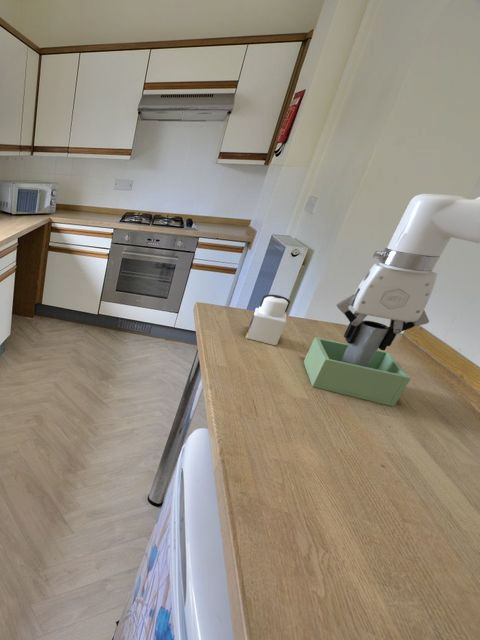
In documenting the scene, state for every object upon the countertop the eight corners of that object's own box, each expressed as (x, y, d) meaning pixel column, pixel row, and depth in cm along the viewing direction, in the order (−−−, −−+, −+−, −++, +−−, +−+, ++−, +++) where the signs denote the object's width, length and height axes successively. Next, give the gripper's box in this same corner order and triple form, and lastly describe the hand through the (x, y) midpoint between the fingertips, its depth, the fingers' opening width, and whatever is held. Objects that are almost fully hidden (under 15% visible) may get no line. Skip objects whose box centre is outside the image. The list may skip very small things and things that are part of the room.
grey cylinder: (334, 364, 91) (355, 321, 87) (346, 360, 93) (367, 319, 88) (358, 373, 87) (382, 330, 83) (370, 370, 89) (393, 327, 85)
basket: (375, 378, 94) (389, 352, 91) (394, 406, 84) (411, 378, 81) (303, 362, 100) (314, 337, 97) (312, 386, 90) (325, 359, 87)
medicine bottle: (247, 330, 117) (262, 290, 112) (277, 337, 113) (293, 296, 108) (245, 338, 112) (260, 297, 107) (276, 346, 108) (294, 303, 103)
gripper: (357, 257, 81) (318, 340, 89) (478, 273, 73) (423, 362, 81) (348, 250, 86) (312, 329, 94) (459, 264, 79) (410, 348, 87)
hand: (364, 343), depth 88 cm, fingers closed on grey cylinder, 4 cm apart
